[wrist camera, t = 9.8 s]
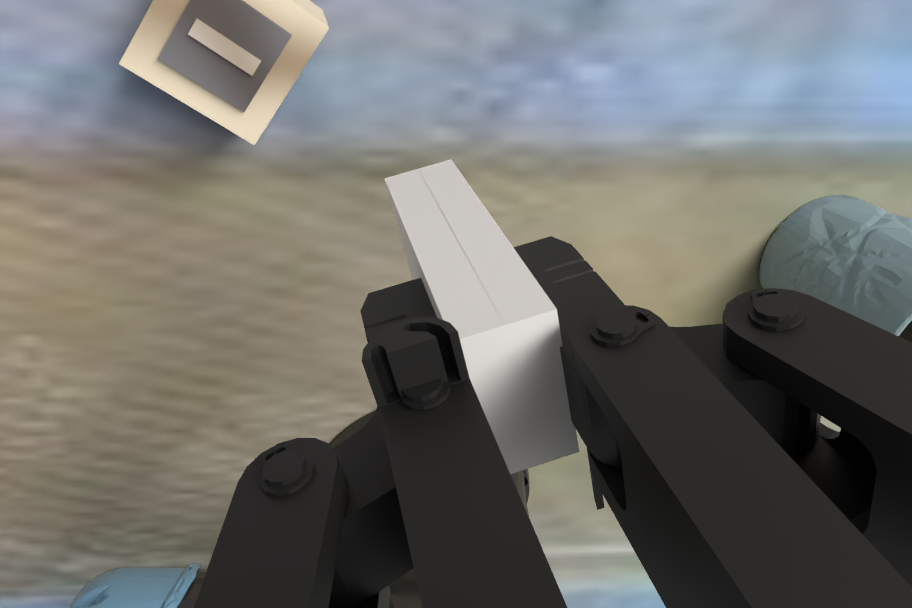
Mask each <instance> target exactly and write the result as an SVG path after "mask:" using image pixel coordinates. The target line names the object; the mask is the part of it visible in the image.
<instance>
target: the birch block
mask: <svg viewBox="0 0 912 608" xmlns="http://www.w3.org/2000/svg"><path fill="white" fill-rule="evenodd" d="M328 29H329V27H328V24H327V21H326V18H325V16H324V13H323V10H322V9H321V8H320V7H318V6H317V5H316V4H314V3H313V2H312V1H310V0H153V2H152V4H151V5H150V7H149V9H148V11H147V13H146V15H145V16H144V18H143V20H142V22H141V24H140V26H139V28H138V29H137V31H136V33H135V35H134V37H133V39H132V40H131V42H130V44H129V46H128V48H127V50H126V52H125V53H124V55H123V57H122V59H121V61H120V63H119V64H120V65H121V66H123V67H125V68H126V69H128V70H130V71H131V72H133V73H135V74H136V75H138V76H140V77H141V78H143V79H145V80H146V81H148V82H150V83H151V84H153V85H155V86H156V87H158V88H160V89H161V90H163V91H165V92H166V93H168V94H170V95H171V96H173V97H175V98H176V99H178V100H180V101H181V102H183V103H185V104H186V105H188V106H190V107H191V108H193V109H195V110H196V111H198V112H200V113H201V114H203V115H205V116H206V117H208V118H210V119H211V120H213V121H215V122H216V123H218V124H220V125H221V126H223V127H225V128H226V129H228V130H230V131H231V132H233V133H235V134H236V135H238V136H240V137H241V138H243V139H245V140H246V141H248V142H250V143H251V144H253V145H255V144H256V142H257V140H258V139H259V137H260V136H261V134H262V133H263V131H264V129H265V128H266V126H267V125H268V123H269V122H270V120H271V118H272V117H273V115H274V114H275V112H276V111H277V109H278V107H279V106H280V104H281V103H282V101H283V100H284V98H285V96H286V95H287V93H288V92H289V90H290V89H291V87H292V85H293V84H294V82H295V81H296V79H297V78H298V76H299V74H300V73H301V71H302V70H303V68H304V67H305V65H306V63H307V62H308V60H309V59H310V57H311V56H312V54H313V52H314V51H315V49H316V48H317V46H318V45H319V43H320V41H321V40H322V38H323V37H324V35H325V34H326V32H327V30H328Z"/></svg>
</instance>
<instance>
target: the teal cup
mask: <svg viewBox="0 0 912 608" xmlns="http://www.w3.org/2000/svg"><path fill="white" fill-rule="evenodd" d="M759 279H760V284H761V286H762V288H763V289H769V288H777V289H788V290H794V291H798V292H801V293H804V294H807V295H810V296H812V297H815V298H817V299H819V300H821V301H823V302H825V303H828V304H830V305H832V306H834V307H836V308H838V309H840V310H843V311H845V312H847V313H849V314H851V315H853V316H856V317H858V318H860V319H862V320H864V321H866V322H868V323H871V324H873V325H875V326H877V327H879V328H881V329H884V330H886V331H888V332H890V333H892V334H894V335H896V336H899V337H901V338H903V339H905V340H907V341H909V342H912V220H911V219H909V218H906V217H902V216H900V215H896V214H891V215H890V214H889V213H888V212H886V211H885V210H884V209H882V208H880V207H878V206H875V205H873V204H871V203H868V202H866V201H863V200H861V199H858V198H855V197H851V196H846V195H831V196H825V197H822V198H819V199H816V200H813V201H811V202H809V203H807V204H804V205H802V206H801V207H800V208H798V209H797V210H796V211H794V212H793V213H792V214H791V215H789V216H788V217H787V218H786V219H785V221H783V222H781V223H780V224H779V226H778V227H777V230H776V232H774V233H773V234H772V236H771V238H770V239H769V241H768V243H767V245H766V247H765V250H764V252H763V255H762V258H761V263H760V270H759Z"/></svg>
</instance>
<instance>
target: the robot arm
mask: <svg viewBox="0 0 912 608" xmlns="http://www.w3.org/2000/svg"><path fill="white" fill-rule="evenodd" d="M385 183H386V186H387V190H388V193H389V197H390V200H391V204H392V207H393V211H394V215H395V218H396V222H397V225H398V229H399V232H400V236H401V239H402V243H403V246H404V250H405V254H406V257H407V261H408V264H409V268H410V271H411V275H412V278H413V280H411V281H408V282H405V283H401V284H398V285H395V286H392V287H388V288H385V289H382V290H378V291H375V292H372V293H368V296H367V298H366V300H365V302H364V305H363V307H362V309H361V315H362V319H363V324H364V328H365V333H366V337H367V341H368V344H367V345H366V346H365V348H364V349H363V356H362V363H363V366H364V368H365V371H366V374H367V377H368V380H369V383H370V385H371V388H372V391H373V394H374V397H375V400H376V402H377V405H378V406H377V409H376V411H375V412H373V413H371V414H369V415H367V416H365V417H363V418H361V419H360V420H358V421H357V422H355V423H354V424H352V425H351V426H350V427H348V428H347V429H346V430H344V431H343V432H342V433H341V434H340V435H339V436H338V437H337V438H336V439H335V440H334V441H333V442H332V443H331V444H330V445H329V444H328V443H326V442H324V441H321V440H318V439H316V438H296V439H293V440H289V441H286V442H282V443H279V444H277V445H275V446H274V447H272V448H270V449H268V450H266V451H265V452H263V453H261V454H260V455H259V456H258V457H257V458H256V459H255V460H254V461H253V462H252V463H251V464H249V465H248V466H247V468H246V469H245V471H244V473H243V475H242V476H241V478H240V480H239V481H238V484H237V487H236V490H235V493H234V495H233V498H232V501H231V504H230V507H229V510H228V512H227V515H226V518H225V521H224V524H223V527H222V529H221V532H220V535H219V538H218V541H217V544H216V546H215V549H214V552H213V555H212V558H211V561H210V563H209V566H208V569H207V570H202V569H199V568H200V566H201V565H200V564H190V565H189V566H187V567H186V568H143V567H124V568H117V569H113V570H109V571H107V572H104V573H102V574H100V575H98V576H97V577H95V578H94V579H92V580H91V581H90V582H89V583H88V584H86V585H85V587H84V588H83V589H82V590H81V591H80V593H79V594H78V595H77V597H76V598H75V599H74V601H73V603H72V604H71V606H70V608H567V606H566V604H565V601H564V599H563V597H562V594H561V592H560V590H559V587H558V585H557V582H556V580H555V578H554V575H553V573H552V571H551V568H550V566H549V564H548V561H547V559H546V557H545V554H544V552H543V550H542V547H541V545H540V543H539V540H538V538H537V536H536V533H535V531H534V528H533V526H532V524H531V521H530V519H529V515H528V509H527V501H528V496H529V473H528V468H531V467H534V466H537V465H540V464H543V463H546V462H549V461H552V460H555V459H558V458H561V457H564V456H567V455H570V454H573V453H576V452H579V447H578V441H577V435H576V429H577V431H578V433H579V434H580V436H581V438H582V440H583V441H584V443H585V445H586V446H587V452H588V458H589V465H590V472H591V479H592V485H593V492H594V498H595V502H596V506H597V510H598V509H601V508H604V502H603V495H604V497H605V499H606V501H607V502H608V504H609V506H610V508H611V510H612V511H613V513H614V515H615V517H616V519H617V520H618V522H619V524H620V526H621V527H622V529H623V531H624V533H625V535H626V536H627V538H628V540H629V542H630V544H631V545H632V547H633V549H634V551H635V553H636V554H637V556H638V558H639V560H640V561H641V563H642V565H643V567H644V569H645V570H646V572H647V574H648V576H649V578H650V579H651V581H652V583H653V585H654V587H655V588H656V590H657V592H658V594H659V595H660V597H661V599H662V601H663V603H664V604H665V606H666V608H912V342H909V341H907V340H905V339H903V338H901V337H899V336H896V335H894V334H892V333H890V332H888V331H886V330H884V329H881V328H879V327H877V326H875V325H873V324H871V323H868V322H866V321H864V320H862V319H860V318H858V317H856V316H853V315H851V314H849V313H847V312H845V311H843V310H840V309H838V308H836V307H834V306H832V305H830V304H828V303H825V302H823V301H821V300H819V299H817V298H815V297H812V296H810V295H807V294H804V293H801V292H798V291H794V290H788V289H777V288H769V289H760V290H753V291H750V292H747V293H744V294H741V295H738V296H737V297H735V298H734V299H733V300H732V301H730V302H729V303H728V304H727V305H726V308H725V310H724V313H723V324H715V325H704V326H694V327H668V325H667V324H666V323H665V322H664V321H663V320H662V319H661V318H660V317H658V316H657V315H655V314H654V313H653V312H651V311H650V310H647V309H643V308H640V307H636V306H625V305H624V304H623V302H622V301H621V300H620V299H619V298H618V297H617V296H616V294H615V293H614V292H613V291H612V290H611V289H610V288H609V287H608V285H607V284H606V283H605V282H604V281H603V280H602V279H601V277H600V276H599V275H598V274H597V273H596V272H594V271H593V268H592V267H591V266H590V265H589V264H588V263H587V262H586V261H584V259H583V257H582V256H581V255H580V254H579V252H578V251H577V250H576V249H575V248H574V247H573V246H572V245H571V244H569V243H566V242H564V241H561V240H559V239H556V238H554V237H551V236H550V237H547V238H544V239H540V240H537V241H534V242H530V243H527V244H524V245H520V246H517V247H514V248H513V246H512V245H511V244H510V242H509V241H508V239H507V238H506V236H505V235H504V234H503V232H502V231H501V229H500V228H499V227H498V225H497V224H496V222H495V221H494V219H493V218H492V217H491V215H490V214H489V212H488V211H487V210H486V208H485V207H484V205H483V204H482V202H481V201H480V200H479V198H478V197H477V195H476V194H475V193H474V191H473V190H472V188H471V187H470V185H469V184H468V183H467V181H466V180H465V178H464V177H463V176H462V174H461V173H460V171H459V170H458V168H457V167H456V166H455V164H454V163H453V161H452V160H447V161H444V162H440V163H437V164H433V165H430V166H426V167H423V168H419V169H416V170H412V171H409V172H405V173H402V174H399V175H395V176H392V177H388V178H385ZM821 416H823V417H824V418H826V419H828V420H829V421H831V422H832V423H834V424H836V425H837V426H839V427H841V431H840V432H836V431H834V430H832V429H830V428H828V427H826V426H825V425H823V424H821V423H820V419H821ZM602 494H603V495H602Z"/></svg>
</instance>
